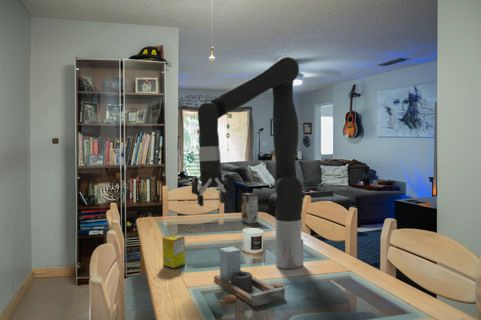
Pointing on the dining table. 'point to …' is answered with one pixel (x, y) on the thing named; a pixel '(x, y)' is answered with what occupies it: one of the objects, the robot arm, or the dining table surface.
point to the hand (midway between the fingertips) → (211, 204)
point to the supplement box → (173, 251)
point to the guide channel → (256, 298)
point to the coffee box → (249, 207)
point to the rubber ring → (242, 279)
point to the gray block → (229, 262)
